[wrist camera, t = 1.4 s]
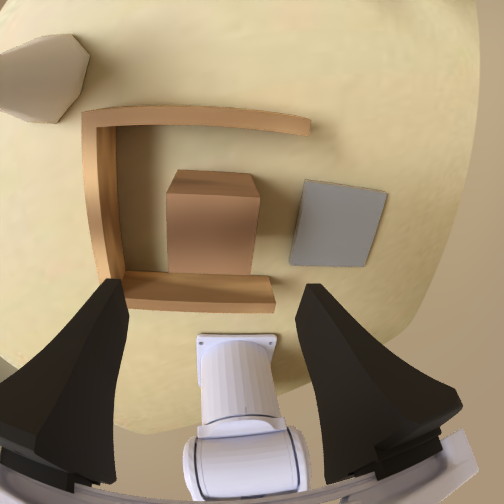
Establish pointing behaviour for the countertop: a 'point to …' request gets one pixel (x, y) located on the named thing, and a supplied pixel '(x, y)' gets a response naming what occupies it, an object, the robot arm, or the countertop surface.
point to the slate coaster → (335, 224)
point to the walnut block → (211, 222)
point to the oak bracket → (108, 223)
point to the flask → (42, 78)
